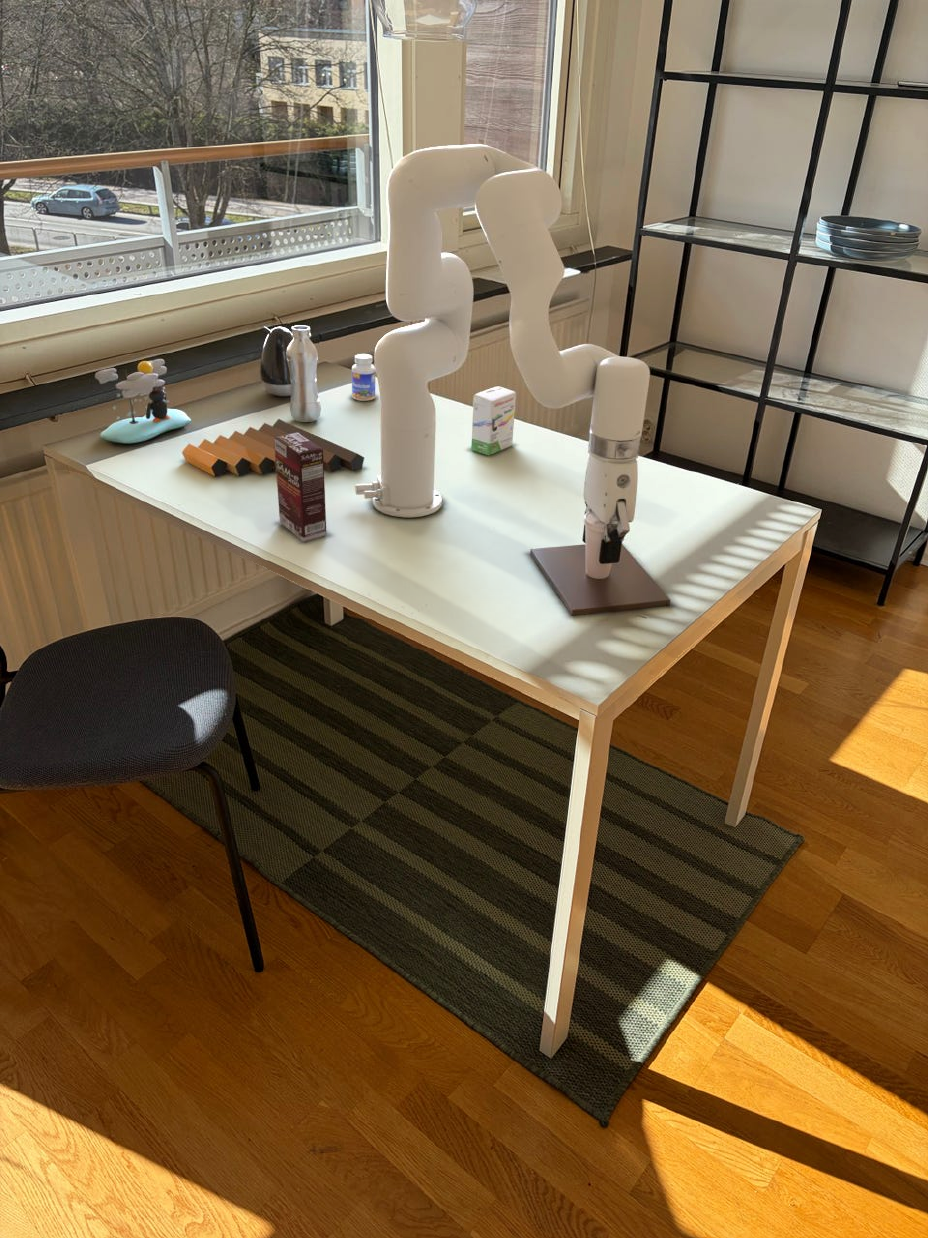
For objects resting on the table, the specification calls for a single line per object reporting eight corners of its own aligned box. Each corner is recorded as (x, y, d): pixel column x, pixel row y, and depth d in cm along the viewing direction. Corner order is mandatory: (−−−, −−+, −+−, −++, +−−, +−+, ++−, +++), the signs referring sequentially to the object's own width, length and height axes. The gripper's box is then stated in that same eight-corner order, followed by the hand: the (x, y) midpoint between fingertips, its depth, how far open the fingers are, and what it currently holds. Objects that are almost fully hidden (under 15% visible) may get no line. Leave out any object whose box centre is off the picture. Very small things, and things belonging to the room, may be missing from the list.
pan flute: (364, 467, 188) (286, 432, 202) (364, 451, 186) (285, 416, 200) (259, 502, 172) (182, 462, 186) (258, 485, 170) (180, 445, 185)
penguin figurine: (169, 413, 209) (161, 344, 201) (202, 425, 204) (195, 354, 196) (90, 438, 195) (77, 365, 187) (123, 451, 190) (112, 376, 182)
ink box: (488, 456, 195) (492, 400, 189) (469, 450, 198) (472, 394, 192) (513, 445, 201) (517, 390, 195) (494, 439, 204) (498, 384, 197)
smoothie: (579, 561, 156) (589, 481, 148) (618, 566, 155) (630, 486, 147) (575, 579, 150) (585, 498, 143) (616, 585, 149) (628, 503, 142)
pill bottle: (349, 400, 221) (348, 358, 216) (355, 392, 226) (354, 351, 221) (372, 402, 220) (371, 360, 215) (377, 395, 225) (377, 353, 220)
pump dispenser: (282, 382, 230) (278, 318, 222) (314, 392, 225) (311, 326, 217) (251, 393, 223) (246, 327, 215) (283, 403, 218) (279, 335, 210)
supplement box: (278, 523, 165) (272, 436, 157) (302, 517, 168) (298, 430, 159) (302, 543, 159) (298, 453, 151) (328, 536, 162) (324, 447, 154)
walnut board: (571, 615, 143) (572, 610, 142) (530, 554, 159) (530, 548, 159) (669, 605, 147) (670, 599, 146) (619, 546, 163) (619, 541, 162)
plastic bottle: (319, 425, 206) (315, 332, 196) (287, 424, 206) (282, 330, 196) (323, 415, 212) (319, 324, 201) (292, 414, 212) (287, 322, 201)
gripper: (662, 464, 135) (644, 576, 144) (615, 422, 149) (602, 526, 158) (612, 468, 133) (598, 580, 142) (570, 424, 147) (559, 529, 157)
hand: (600, 550), depth 150 cm, fingers closed on smoothie, 6 cm apart
